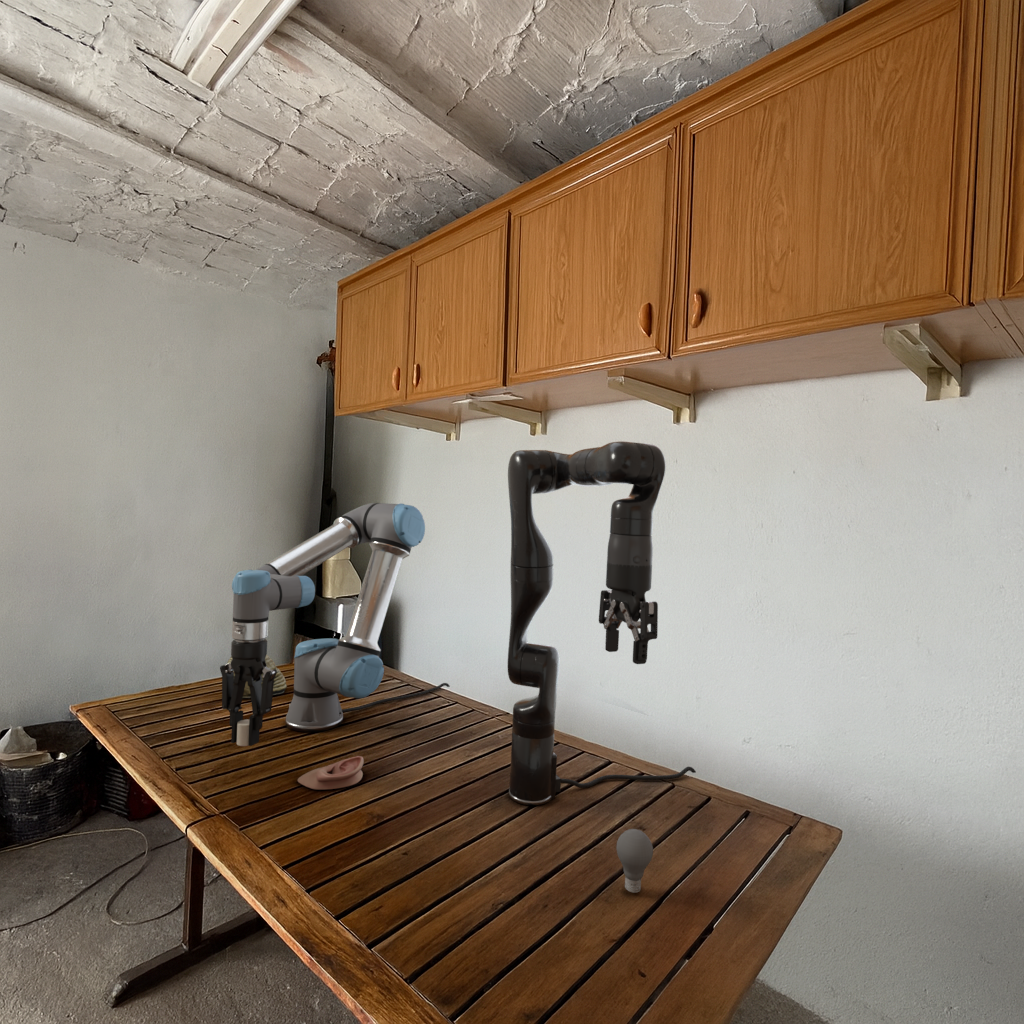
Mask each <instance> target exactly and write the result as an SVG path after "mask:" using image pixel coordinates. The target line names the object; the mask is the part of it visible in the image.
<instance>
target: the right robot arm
mask: <svg viewBox="0 0 1024 1024" xmlns="http://www.w3.org/2000/svg"><path fill="white" fill-rule="evenodd" d="M666 467H667V466H666V458H665V455H664V453H663V451H662V449H661V448H660V447H659V446H657V445H656V444H653V443H652V444H651V443H644V442H643V443H642V442H634V441H622V440H620V441H612V442H611V441H610V442H608V443H606V444H604V445H602V446H597V447H590V448H584V449H579V450H577V451H575V452H573V453H562V452H556V451H552V450H547V449H521V450H516V451H514V452H513V453H512V454H511V456H510V458H509V460H508V465H507V486H508V499H509V508H510V509H509V512H510V577H509V578H510V623H509V635H508V636H509V637H508V651H507V675H508V678H509V681H510V682H511V683H512V684H514V685H518V686H523V687H527V688H528V687H529V688H535V689H538V694H537V695H535V696H532V697H526V698H522V699H519V700H518V701H516V702H515V703H514V704H513V708H512V726H511V747H510V748H511V751H510V773H509V786H508V787H509V788H508V797H509V798H510V799H511V800H512V801H513V802H515V803H518V804H520V805H525V806H541V805H545V804H547V803H549V802H550V801H551V800H555V799H556V793H559V792H561V787H562V784H567V785H572V786H574V787H576V788H580V789H585V788H591V787H593V786H594V785H596V784H598V783H600V782H603V781H608V780H630V781H668V780H675V779H679V778H681V777H683V776H684V775H685V774H686V773H687V772H691V773H692V774H695V773H697V771H696V770H695V769H694V768H693V767H692V766H686V767H685V768H683V769H682V770H681V771H679V772H677V773H674V774H666V775H663V774H662V775H633V774H606V775H601V776H599V777H597V778H595V779H593V780H591V781H589V782H584V783H581V782H578V781H576V780H573V779H568V778H561V777H560V776H558V774H557V765H558V755H557V754H556V753H555V752H554V749H555V747H554V746H555V729H556V728H555V727H556V726H555V725H556V724H555V723H556V709H557V701H558V700H557V699H558V685H559V675H560V663H561V658H560V653H559V652H560V651H559V650H558V649H557V647H556V646H553V645H547V644H540V643H532V642H528V635H529V629H530V627H531V626H530V625H531V623H532V621H533V620H534V617H535V616H536V615H537V612H538V611H539V610H540V608H541V607H542V606H543V604H544V603H545V602H546V600H547V598H548V597H549V595H550V594H551V592H552V589H553V586H554V566H555V565H554V553H553V550H552V549H551V546H550V544H549V543H548V541H547V539H546V537H545V535H544V534H543V532H542V531H541V529H540V527H539V525H538V524H537V522H536V518H535V514H534V508H533V495H538V494H544V495H545V494H549V493H553V492H556V491H559V490H561V489H564V488H567V487H572V486H579V487H604V486H610V485H614V484H619V485H632V487H631V490H630V492H629V495H628V496H626V497H622V498H619V499H616V500H614V501H613V502H612V504H611V506H610V507H611V508H610V519H609V520H610V521H609V537H608V542H607V550H606V572H605V573H606V574H605V575H606V576H605V587H606V588H607V589H604V590H600V596H599V597H600V599H599V608H598V609H599V610H598V624H602V625H603V628H604V630H605V641H604V643H605V647H604V649H605V651H606V652H609V653H613V652H614V653H615V652H618V651H619V641H620V630H619V628H620V626H621V624H622V622H623V623H625V624H626V626H627V629H629V630H630V631H631V634H632V637H633V639H634V640H633V641H632V642H633V645H632V663H633V664H635V665H645V664H646V663H647V661H648V649H649V646H648V645H649V641H651V640H657V639H658V630H659V629H658V627H659V625H658V623H659V622H658V619H659V618H658V617H659V615H658V614H659V604H658V602H657V601H647V600H646V593H647V592H650V591H651V589H652V577H653V556H654V546H653V523H654V511H655V507H656V504H657V502H658V499H659V494H660V491H661V489H662V486H663V482H664V478H665V475H666ZM649 625H650V630H649V627H648V626H649ZM639 629H640V630H639Z"/></svg>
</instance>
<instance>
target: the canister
mask: <svg viewBox="0 0 1024 1024" xmlns="http://www.w3.org/2000/svg"><path fill="white" fill-rule="evenodd" d="M248 741H249V719H247V718H246V719H243V720H241V721H239V722H238V723H237V742H236V745H237V746H238V747H239V746H240V747H248Z"/></svg>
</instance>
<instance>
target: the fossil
mask: <svg viewBox="0 0 1024 1024" xmlns="http://www.w3.org/2000/svg"><path fill="white" fill-rule="evenodd" d="M232 658H233V657H232V656H231V655H230V657H229V659H228V660H227V663H226V664H228V663H231V661H232ZM265 662H266V664H267V667H268V668H270V669H271V670H273V669H276V670H277V674H276V676H275V678H274V685H273V696H275V695H281V694H284V693H285V691H286V689H287V687H288V686H287V680H286V678H285V676H284V674H283V673H282V672H281V669H279V668H278V667H277V665H276V663H275V662H274V660H273V659H272V658H271V657H270V656H269V655H268V654H267V655H266V657H265ZM233 672H234V671H233ZM263 674H264V673H262V676H263ZM234 676H235V673H234ZM263 679H264V678H263V677H262V683H263ZM262 683H261V687H262ZM242 699H251V694H250V687H249V686H248V682H246V684H245V689H244V693H243V698H242Z"/></svg>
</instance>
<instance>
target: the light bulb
mask: <svg viewBox="0 0 1024 1024" xmlns="http://www.w3.org/2000/svg"><path fill="white" fill-rule="evenodd" d="M615 849H616V854H617V857H618V859H619V861H620V863H621V865H622V867H623V873H624V874H623V875H624V876H625V878H624V888H625V890H627V891H628V892H630V893H634V894H635V893H639V892H640V891H641V889H642V887H641V886H642V879H643V877H644V875H645V871H646V868H647V867H648V866H649V864H650V863H651V861H652V859H653V855H654V847H653V843H652V841H651V838H649V836H648V835H647V834H646V833H645V832H643V831H642V830H641V829H636V828H629V829H627V830H625V831H623V832H622V833H621V834H620V835H619V837H618V839H617V841H616V847H615Z"/></svg>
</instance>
